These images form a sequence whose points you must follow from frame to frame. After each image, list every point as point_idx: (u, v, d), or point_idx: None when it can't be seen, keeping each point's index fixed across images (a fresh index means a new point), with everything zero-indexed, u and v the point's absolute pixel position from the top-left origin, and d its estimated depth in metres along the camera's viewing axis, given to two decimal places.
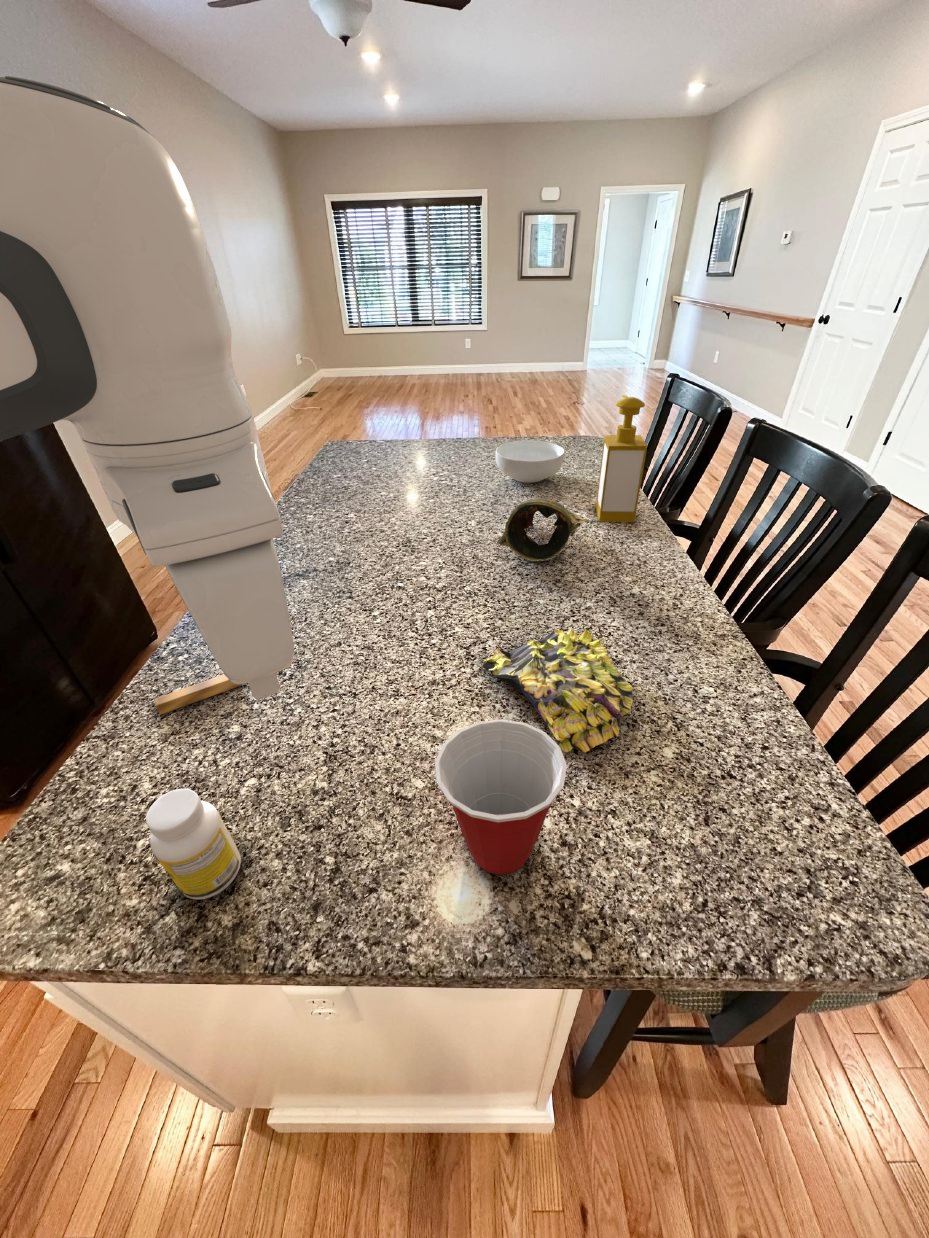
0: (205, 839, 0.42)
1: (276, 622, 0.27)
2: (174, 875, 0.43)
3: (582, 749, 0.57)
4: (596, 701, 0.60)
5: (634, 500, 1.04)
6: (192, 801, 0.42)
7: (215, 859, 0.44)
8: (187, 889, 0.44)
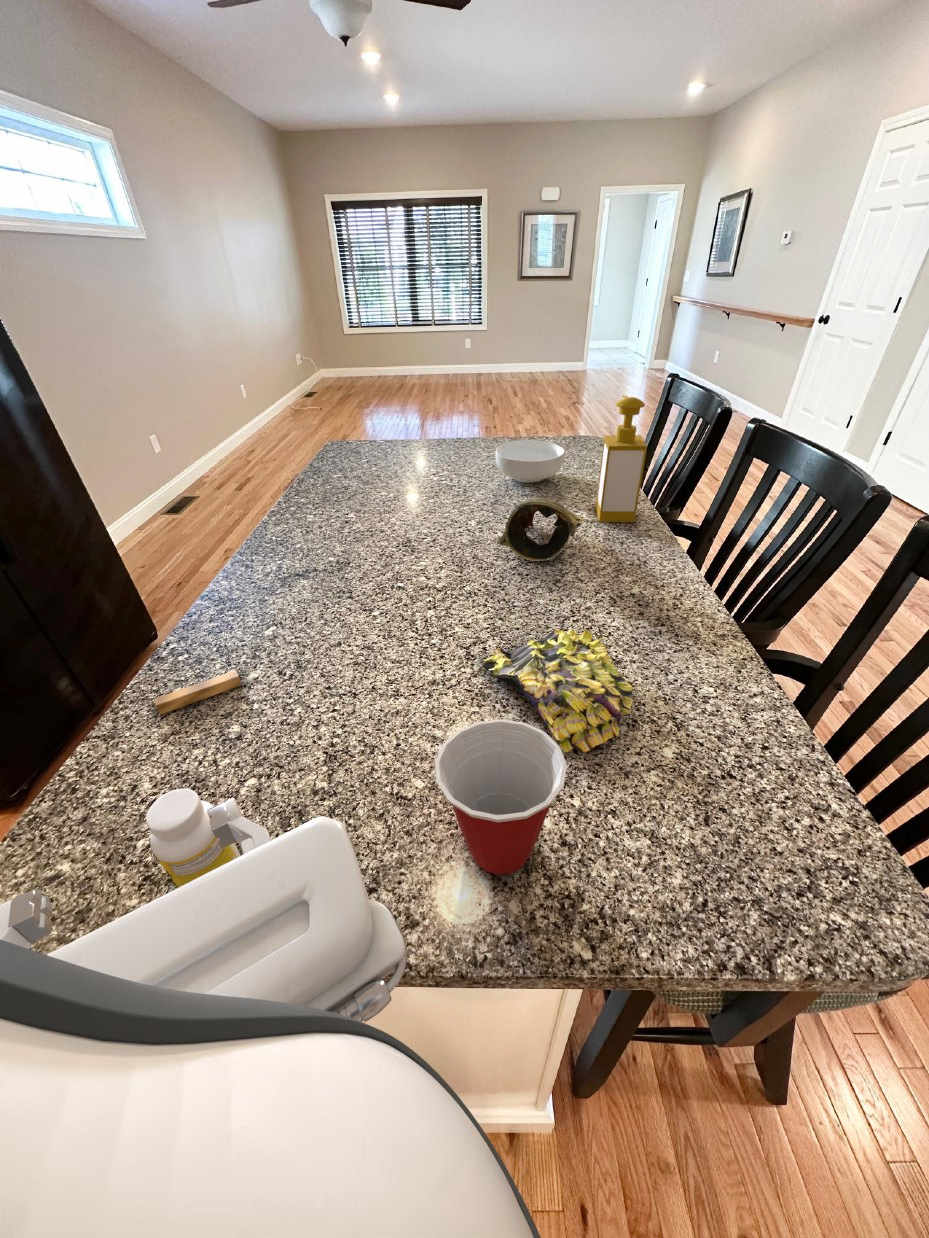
0: (205, 839, 0.42)
1: None
2: (174, 875, 0.43)
3: (582, 749, 0.57)
4: (596, 701, 0.60)
5: (634, 500, 1.04)
6: (192, 801, 0.42)
7: (215, 859, 0.44)
8: None
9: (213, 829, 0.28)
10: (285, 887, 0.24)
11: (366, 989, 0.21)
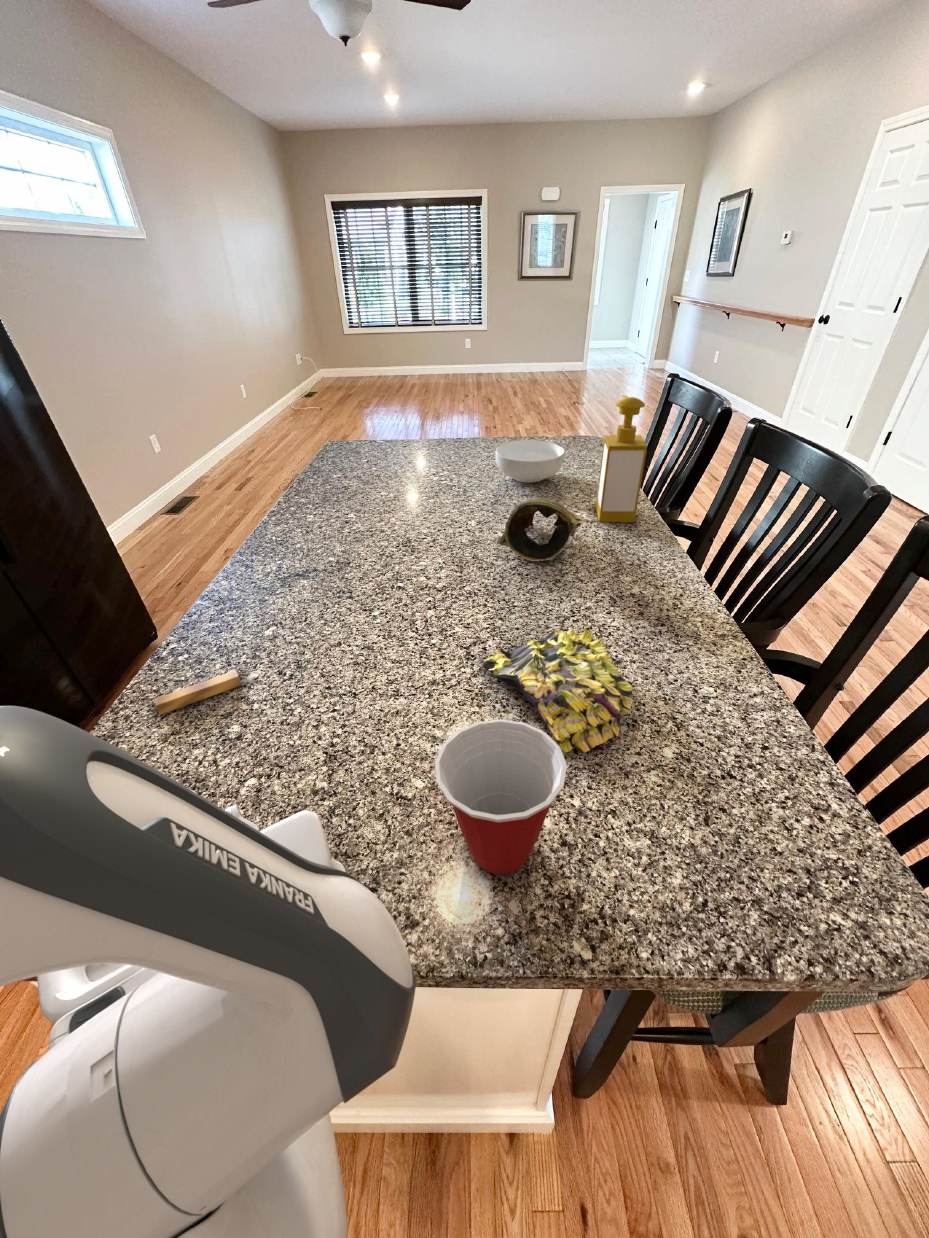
0: None
1: None
2: None
3: (582, 749, 0.57)
4: (596, 701, 0.60)
5: (634, 500, 1.04)
6: None
7: None
8: None
9: None
10: None
11: None
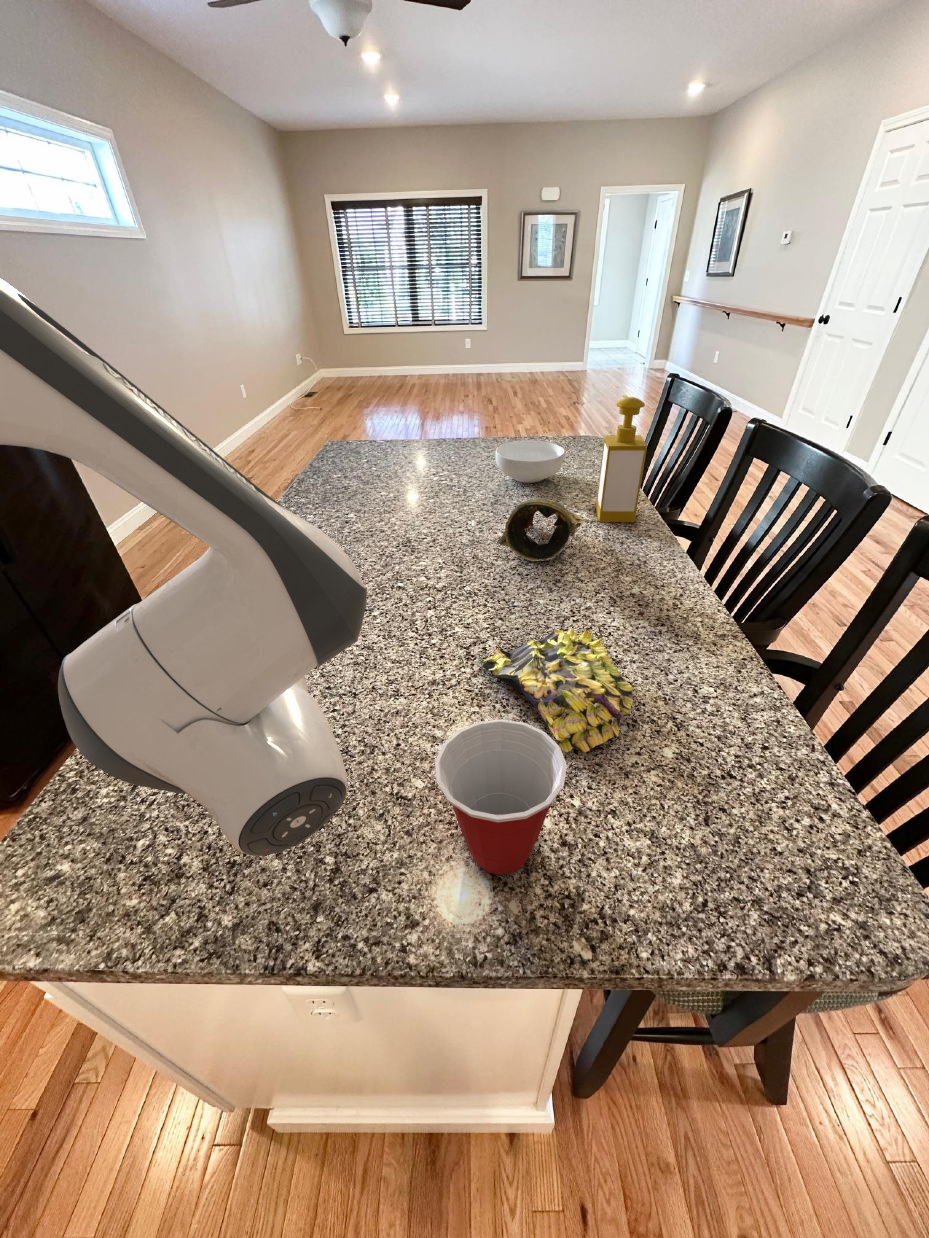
0: None
1: None
2: None
3: (582, 749, 0.57)
4: (596, 701, 0.60)
5: (634, 500, 1.04)
6: None
7: None
8: None
9: None
10: None
11: None
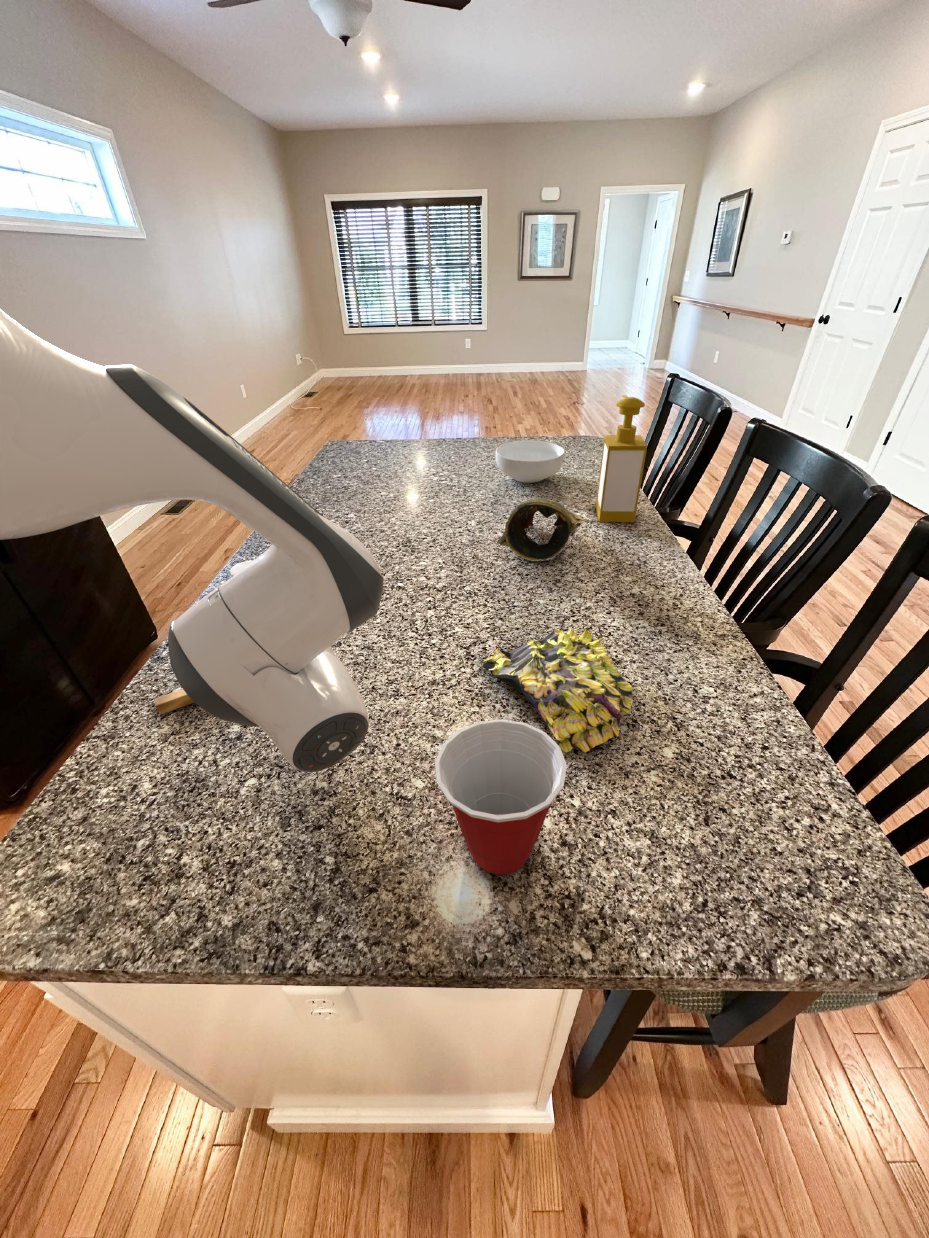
0: None
1: None
2: None
3: (582, 749, 0.57)
4: (596, 701, 0.60)
5: (634, 500, 1.04)
6: None
7: None
8: None
9: None
10: None
11: None
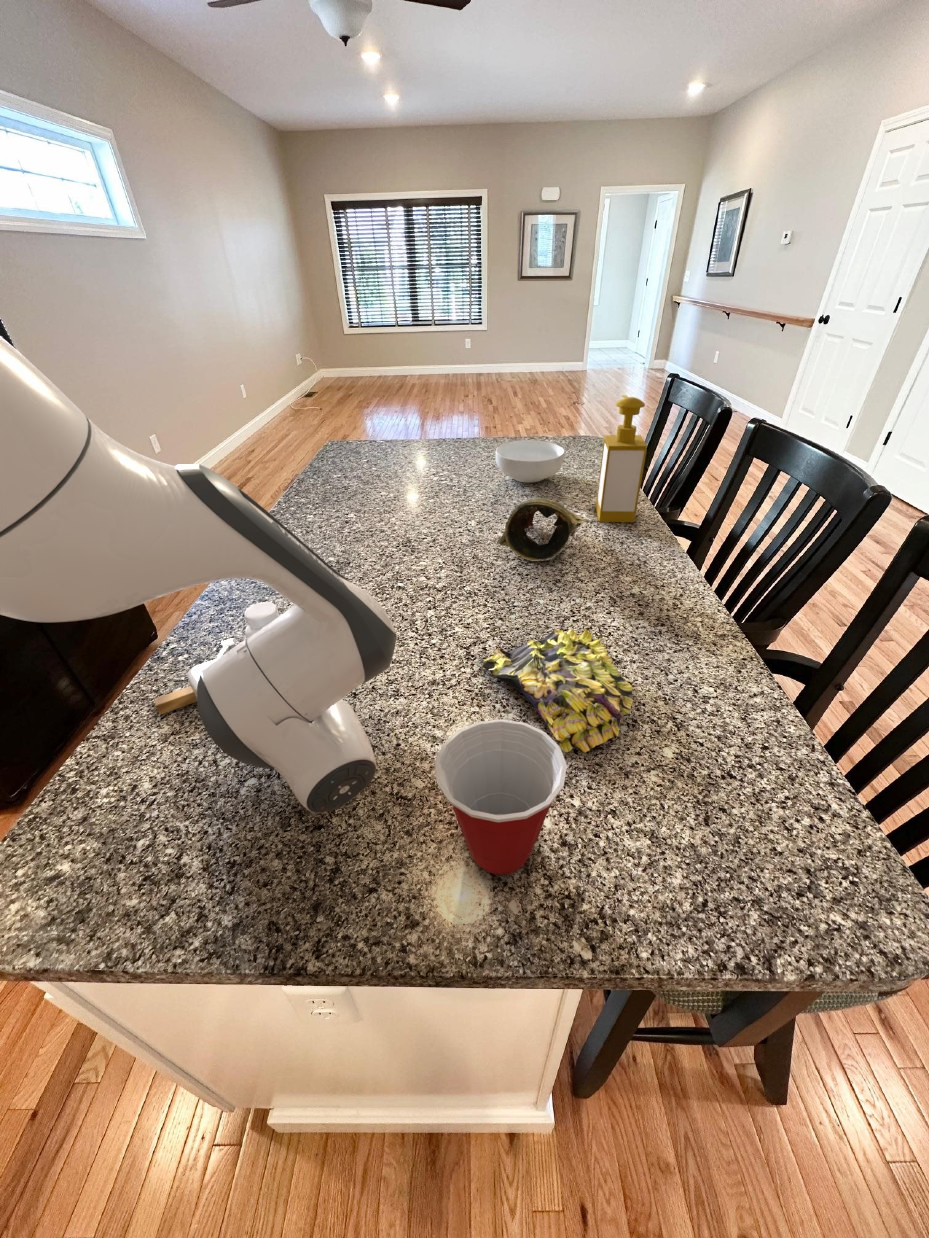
0: None
1: None
2: None
3: (582, 749, 0.57)
4: (596, 701, 0.60)
5: (634, 500, 1.04)
6: (272, 607, 0.66)
7: None
8: None
9: None
10: None
11: None
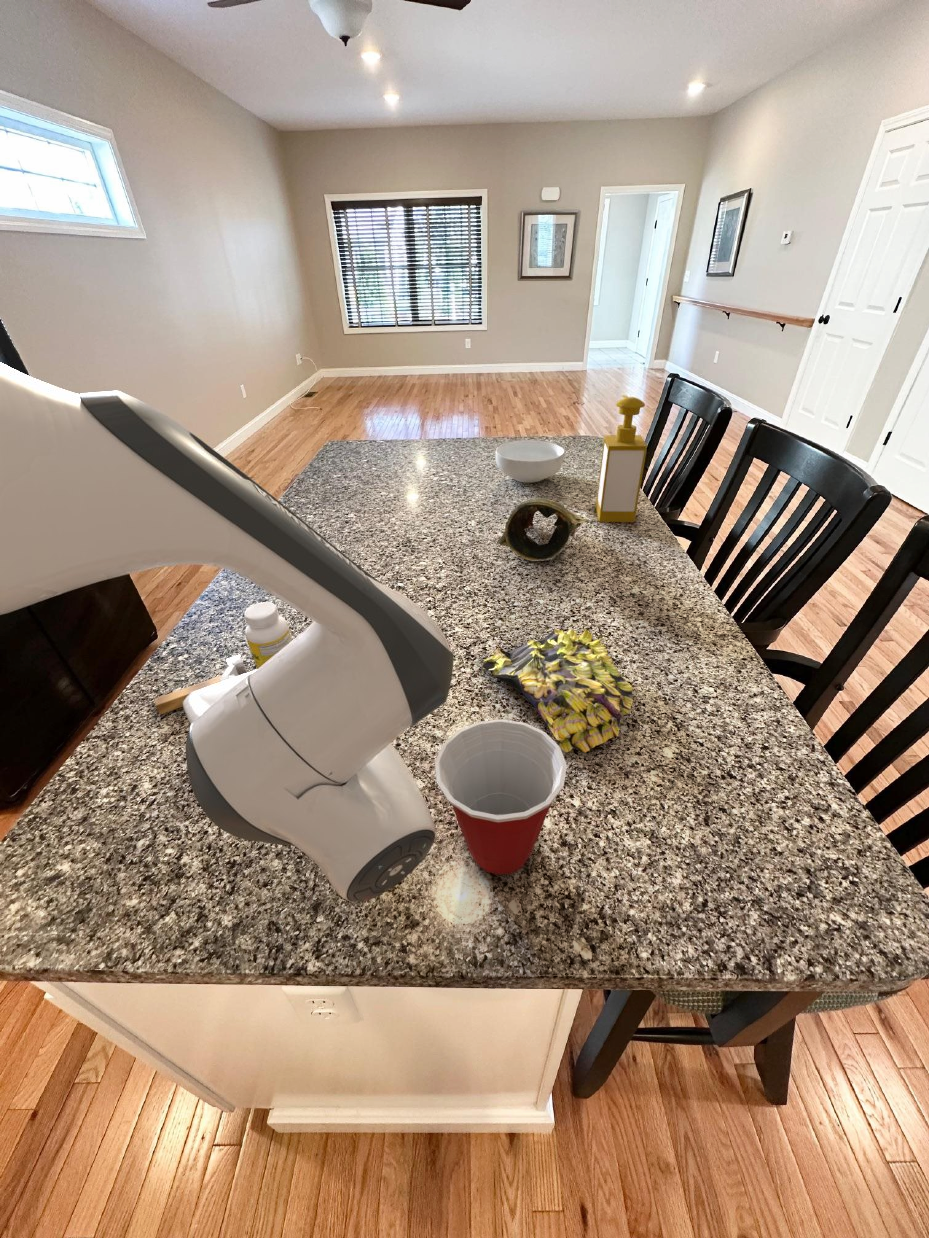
0: (280, 631, 0.66)
1: None
2: (260, 656, 0.67)
3: (582, 749, 0.57)
4: (596, 701, 0.60)
5: (634, 500, 1.04)
6: (272, 607, 0.66)
7: None
8: None
9: None
10: None
11: None
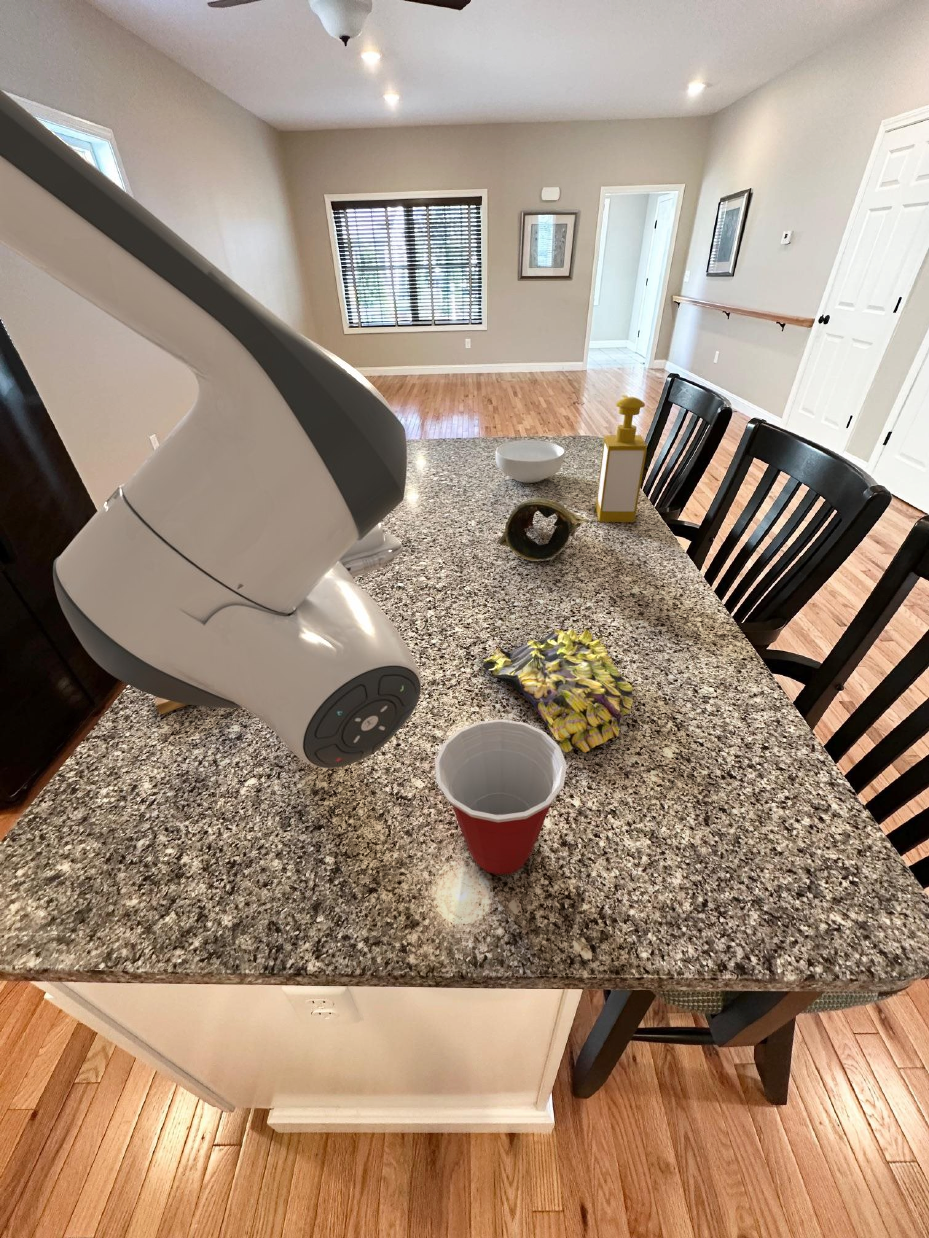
0: None
1: None
2: None
3: (582, 749, 0.57)
4: (596, 701, 0.60)
5: (634, 500, 1.04)
6: None
7: None
8: None
9: None
10: None
11: (381, 551, 0.42)
